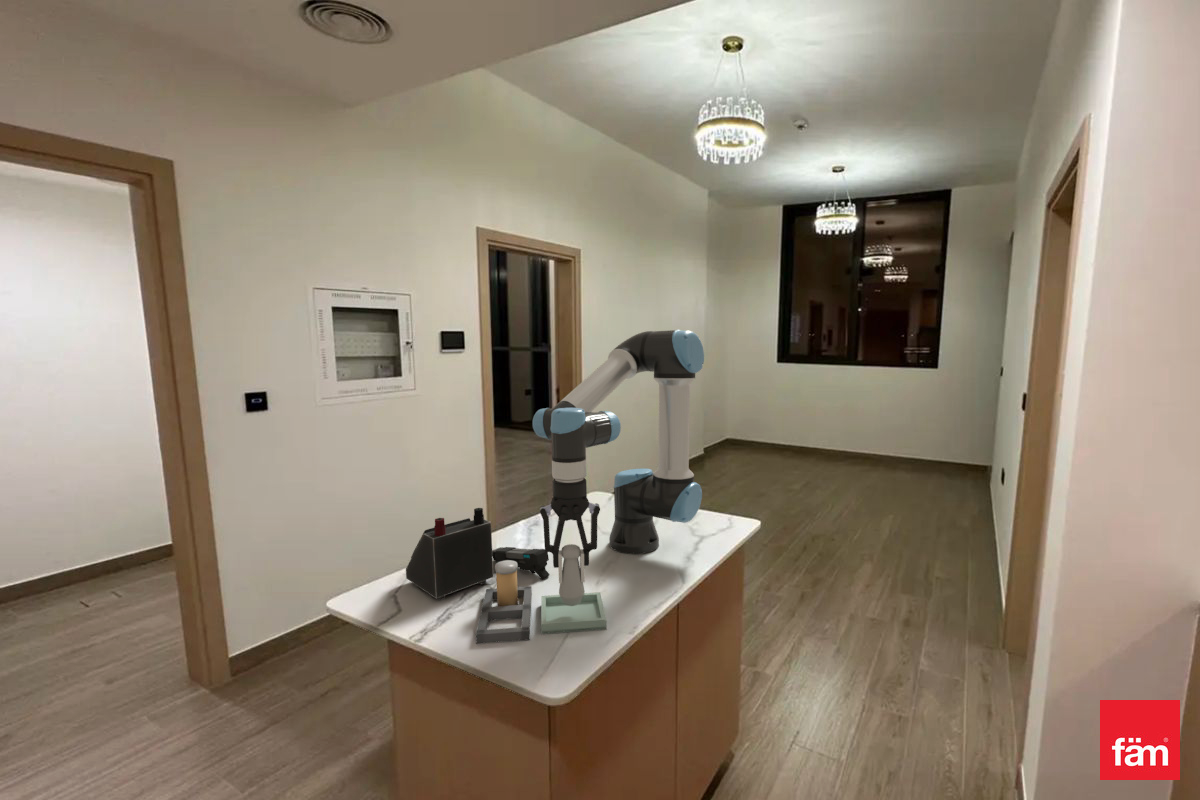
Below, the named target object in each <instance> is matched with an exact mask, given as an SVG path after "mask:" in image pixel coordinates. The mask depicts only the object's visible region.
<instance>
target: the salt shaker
mask: <svg viewBox="0 0 1200 800" xmlns="http://www.w3.org/2000/svg"><path fill="white" fill-rule="evenodd" d="M580 549H581V547H580V546H579V545H577V544H571V543H569V544H566V545H563V546H562V547H561V549H560V550H561V553H562V559H563V561H562V583H559V589H558V595H560V597H561V599H562V601H563V602H564V604H565V605H568V606H575V605H578V604H580V602H581V600H582V598H583V596H584V593H586V592H585V591H586V590H585V586H584V582H581V570H580V559H579V558H580Z"/></svg>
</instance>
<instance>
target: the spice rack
mask: <svg viewBox="0 0 1200 800" xmlns="http://www.w3.org/2000/svg"><path fill="white" fill-rule="evenodd" d="M494 571H495V576H496V578H495V579H496V588H486V589H485V594H484V598H483V602H482V605H481V610H480V614H479V617H478V618H479V619H478V623H477V627H476V632H475V644H477V645H478V644H495V643H506V642H507V643H508V642H518V641H519V642H520V641H529V640H530V641H531V639H530V638H531V637H530V636H531V635H530V634H531V615H532V595H533V593H532V591H533V590H532V586H530V585H529V586H518V565H517V562H516V561H512V560H505V561H500V562H495V566H494ZM519 599H523V603H522V604H519ZM494 600H496V603H497V606H495V605H494V606H493V601H494ZM516 619H521V625H520V626H521V627H508V628H507V627H504V628H494V629H492V628H491V629H488V628H489V627H488V626H489V622H490V621H500V620H501V621H503V620H516Z"/></svg>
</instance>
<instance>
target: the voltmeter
mask: <svg viewBox="0 0 1200 800" xmlns="http://www.w3.org/2000/svg"><path fill="white" fill-rule="evenodd" d="M492 533H493V532H492V522H491V521H489V520H487V519H485V516H484V509H483V507H477V508H474V509H473V520H471V519H470V517H468V518H464V519H462V520H456V521H453V522H450V523H446V524H445V518H444V517H437V518H435V519H434V526H433V527H431V528H428V529H425V530H424V531H423V533H422V535H421V537H420V538H419V541H418V543H417V545H416V546H415V548H414V550H413V551H412V555H411V557H410V560H409V562H408V564H407V566H406V568H405V576H406V579H407V580H408V581H409V582H411V583H413V585H414V586H416V587H418V588H420V589H422V590H423V591H424V592H426V593H428V595H430V596H432V597H433V598H435V599H436V600H438V601H440V600H441V601H442V600H444V599H445V598H446V597H445V596H447V595H449V594H452V593H455V592H457V591H460V590H462V589H466V588H468V587H471V586H474V585H476V584H478V585H486V583H487V580H490V579H492V578H494V565H493V564H494V563H493V561H494V560H493V557H492V550H493V538H492V536H493V535H492Z"/></svg>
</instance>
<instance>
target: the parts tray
mask: <svg viewBox="0 0 1200 800" xmlns="http://www.w3.org/2000/svg"><path fill="white" fill-rule="evenodd" d="M540 604H541V606H540V607H541V608H540V609H541V610H540V611H541V614H540V615H541V616H540V617H541V618H540V621H541V623H540V624H541V627H540V628H541V629H540V631H541V635H545V634H559V633H573V632H587V631H601V630H604V631H605V630H607V627H608V626H607V617H606V612H605V607H604V602H603V599H602V594H601V592H600V591H598V592H584V596H583V598H582V600H581V602H580V604H578V605H575V606H568V605H565V604H564V602H563V601H562V599H561V597H560V595H559V594H554V595H553V594H551V595H541V603H540Z"/></svg>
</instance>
